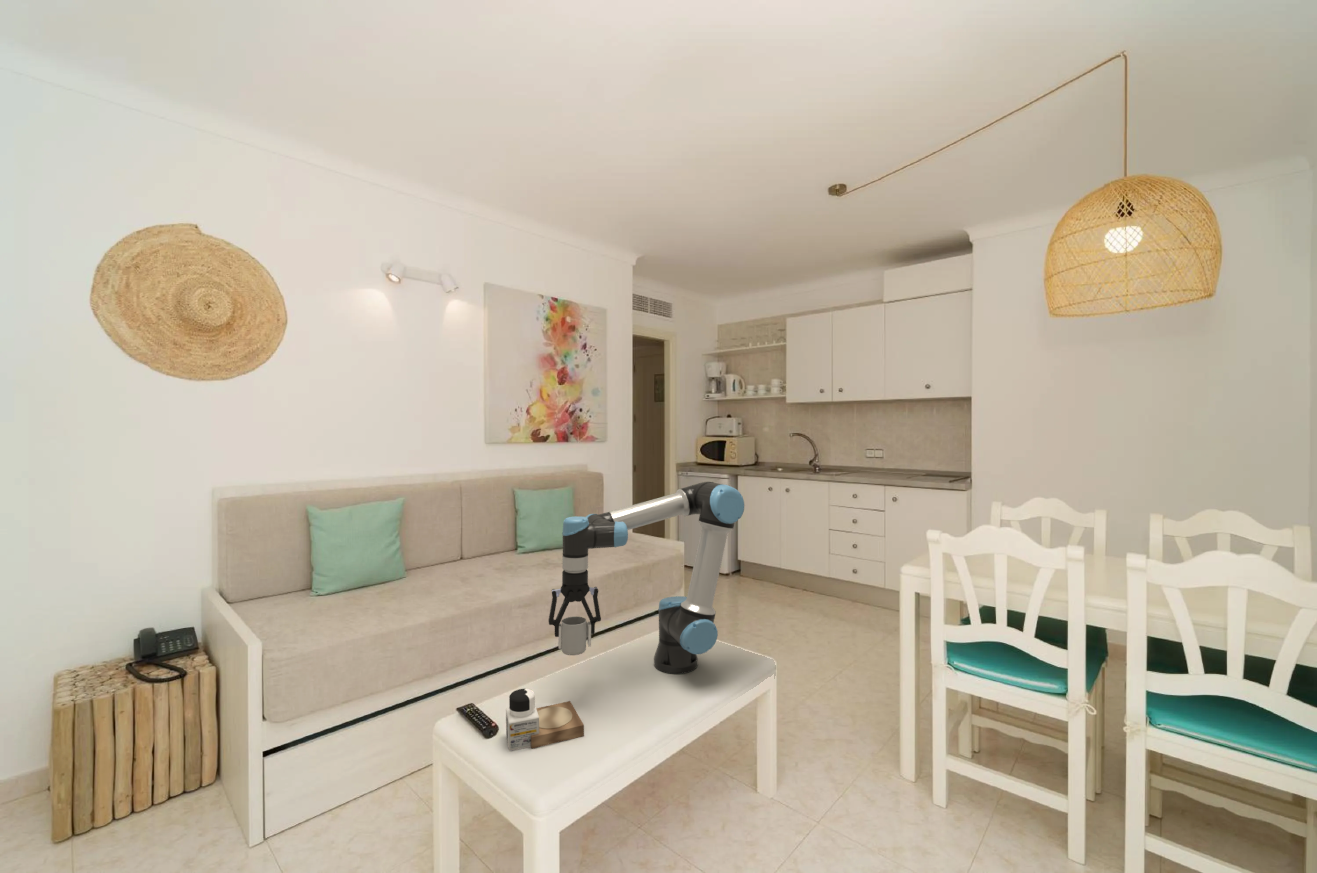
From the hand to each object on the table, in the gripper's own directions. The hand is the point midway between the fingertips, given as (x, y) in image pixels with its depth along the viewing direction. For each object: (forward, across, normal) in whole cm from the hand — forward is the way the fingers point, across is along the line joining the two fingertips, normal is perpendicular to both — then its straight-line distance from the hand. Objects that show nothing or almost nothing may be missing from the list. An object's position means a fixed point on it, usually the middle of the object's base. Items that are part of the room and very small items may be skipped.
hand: (574, 645), depth 165 cm
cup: (+1, -1, 0) cm, 1 cm away
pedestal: (+18, +7, +11) cm, 22 cm away
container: (+18, +15, +15) cm, 28 cm away
